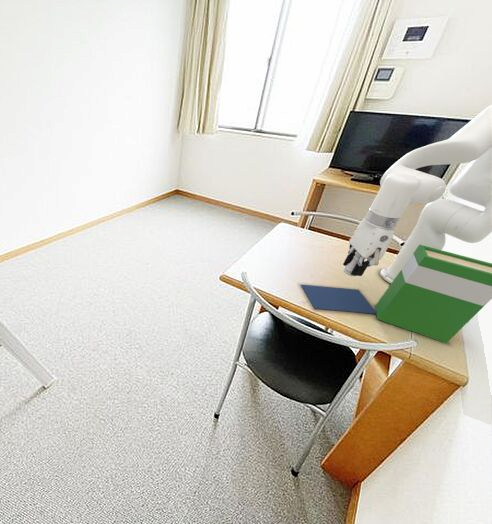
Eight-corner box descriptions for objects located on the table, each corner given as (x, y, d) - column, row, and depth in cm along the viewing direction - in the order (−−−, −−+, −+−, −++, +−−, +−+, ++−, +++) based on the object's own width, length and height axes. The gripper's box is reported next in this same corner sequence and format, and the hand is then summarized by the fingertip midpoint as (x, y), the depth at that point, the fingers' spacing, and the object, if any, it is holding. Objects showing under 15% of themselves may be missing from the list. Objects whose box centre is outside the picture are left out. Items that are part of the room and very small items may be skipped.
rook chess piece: (343, 274, 95) (355, 253, 90) (341, 267, 99) (352, 246, 94) (359, 278, 94) (372, 257, 89) (356, 270, 97) (368, 249, 93)
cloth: (357, 290, 107) (358, 289, 107) (377, 314, 97) (377, 313, 97) (301, 285, 107) (301, 284, 107) (314, 308, 98) (314, 307, 97)
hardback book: (440, 327, 94) (499, 265, 80) (446, 343, 88) (510, 279, 75) (375, 305, 100) (419, 244, 86) (377, 319, 95) (424, 256, 81)
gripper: (414, 234, 78) (378, 288, 89) (377, 207, 92) (350, 256, 103) (385, 231, 78) (353, 286, 89) (353, 205, 92) (328, 254, 103)
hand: (352, 269), depth 96 cm, fingers closed on rook chess piece, 4 cm apart
